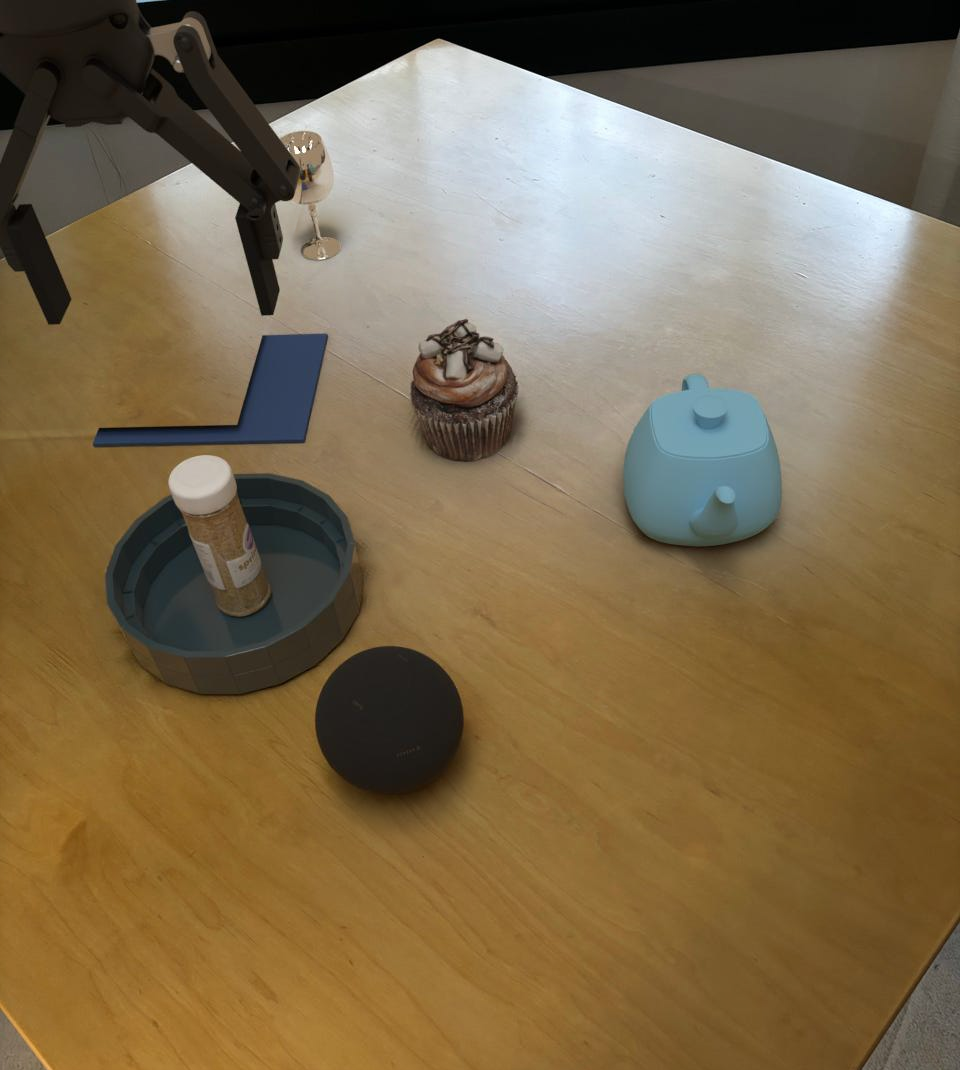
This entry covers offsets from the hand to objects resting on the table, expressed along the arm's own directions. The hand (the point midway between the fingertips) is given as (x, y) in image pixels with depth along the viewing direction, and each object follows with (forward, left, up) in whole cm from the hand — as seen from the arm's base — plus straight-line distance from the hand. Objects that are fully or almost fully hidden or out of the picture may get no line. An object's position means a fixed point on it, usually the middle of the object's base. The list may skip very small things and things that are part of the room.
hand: (164, 307), depth 68 cm
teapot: (+36, +7, -26) cm, 45 cm away
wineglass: (-2, +49, -26) cm, 56 cm away
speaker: (+13, -17, -26) cm, 34 cm away
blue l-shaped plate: (-9, +25, -26) cm, 37 cm away
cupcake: (+16, +18, -26) cm, 36 cm away
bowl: (-1, -2, -26) cm, 26 cm away
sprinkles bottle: (-1, -2, -26) cm, 26 cm away
